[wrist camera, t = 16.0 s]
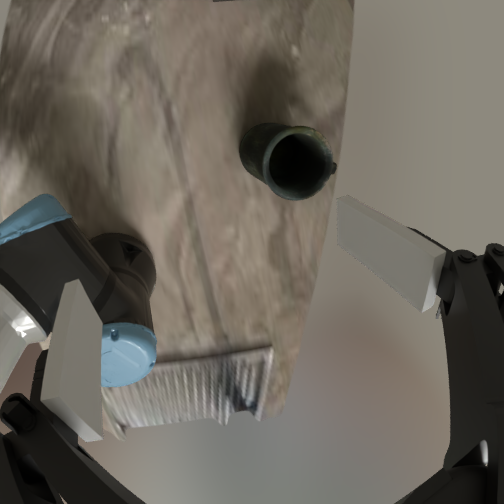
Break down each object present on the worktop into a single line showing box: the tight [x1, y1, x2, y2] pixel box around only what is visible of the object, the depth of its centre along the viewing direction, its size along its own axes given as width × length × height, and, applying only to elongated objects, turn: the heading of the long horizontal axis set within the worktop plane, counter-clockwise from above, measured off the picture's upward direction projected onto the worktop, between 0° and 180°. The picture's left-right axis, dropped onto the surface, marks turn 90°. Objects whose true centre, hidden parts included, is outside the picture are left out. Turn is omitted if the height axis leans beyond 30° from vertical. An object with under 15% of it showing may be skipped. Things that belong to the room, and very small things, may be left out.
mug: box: [240, 123, 337, 200], centre depth 46 cm, size 11×15×12 cm
